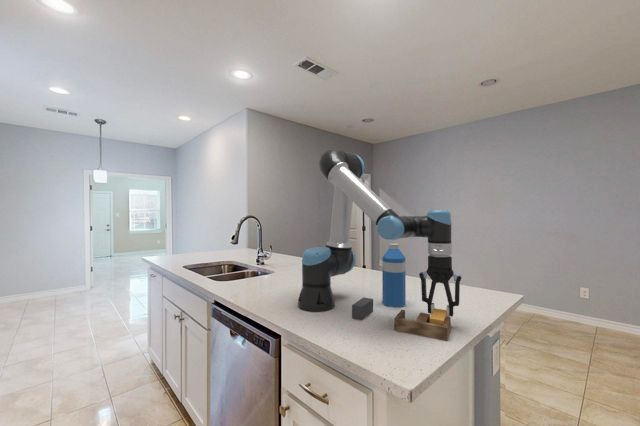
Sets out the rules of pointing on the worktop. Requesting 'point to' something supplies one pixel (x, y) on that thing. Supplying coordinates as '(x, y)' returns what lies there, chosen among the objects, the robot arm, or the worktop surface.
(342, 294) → the worktop surface
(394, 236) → the robot arm
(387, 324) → the worktop surface
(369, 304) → the tall gray prism
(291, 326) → the worktop surface
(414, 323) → the bronze desk organizer
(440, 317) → the tall orange brick
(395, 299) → the blue water bottle
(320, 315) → the worktop surface
